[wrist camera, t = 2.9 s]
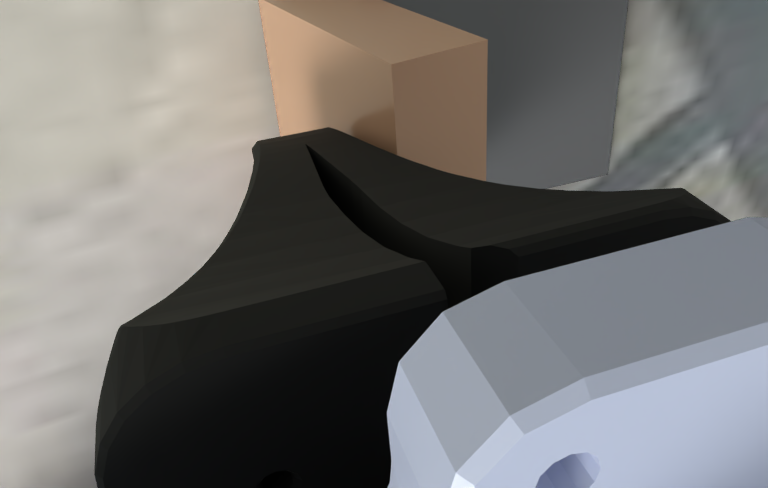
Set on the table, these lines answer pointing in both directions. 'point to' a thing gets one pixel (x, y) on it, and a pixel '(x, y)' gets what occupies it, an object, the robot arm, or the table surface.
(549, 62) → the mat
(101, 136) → the table surface
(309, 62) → the tile
